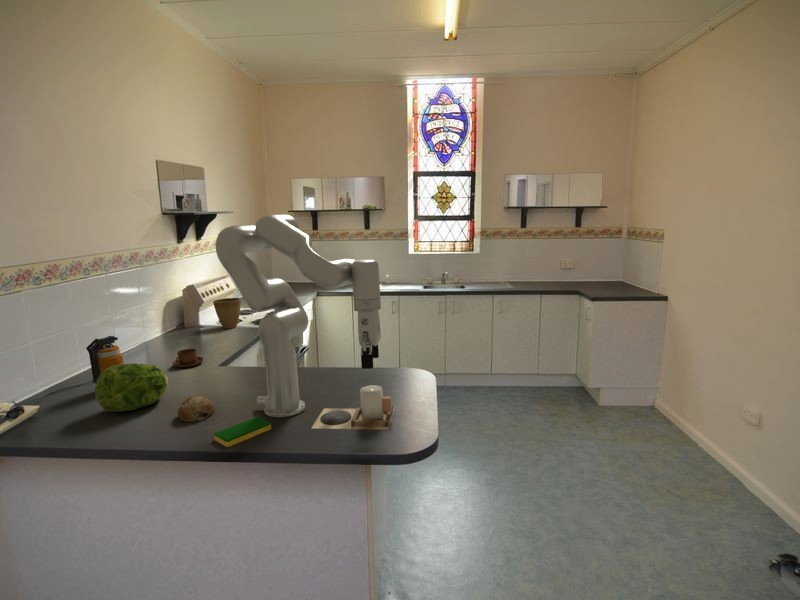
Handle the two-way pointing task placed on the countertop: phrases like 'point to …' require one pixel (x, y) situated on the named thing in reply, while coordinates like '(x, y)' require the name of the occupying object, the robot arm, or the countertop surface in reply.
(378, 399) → the jug
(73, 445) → the countertop surface
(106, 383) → the lettuce
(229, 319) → the plant pot
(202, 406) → the bread roll
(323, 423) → the jug stand
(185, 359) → the cup and saucer
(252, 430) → the dish sponge
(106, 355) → the canister
